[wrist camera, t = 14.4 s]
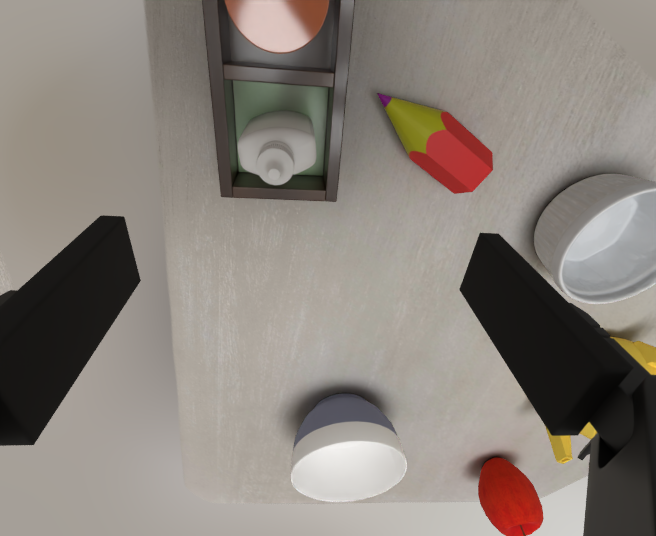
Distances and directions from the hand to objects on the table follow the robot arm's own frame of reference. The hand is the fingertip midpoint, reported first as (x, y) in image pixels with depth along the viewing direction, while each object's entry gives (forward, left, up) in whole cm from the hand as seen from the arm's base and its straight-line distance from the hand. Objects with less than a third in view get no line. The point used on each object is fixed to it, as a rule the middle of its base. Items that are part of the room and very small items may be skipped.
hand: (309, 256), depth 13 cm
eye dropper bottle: (+2, 0, -22) cm, 22 cm away
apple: (-39, +59, -22) cm, 74 cm away
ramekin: (-32, +8, -22) cm, 40 cm away
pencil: (-11, -1, -22) cm, 25 cm away
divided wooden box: (+2, -5, -22) cm, 23 cm away
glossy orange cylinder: (+2, -9, -22) cm, 23 cm away
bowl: (-8, +42, -22) cm, 48 cm away
